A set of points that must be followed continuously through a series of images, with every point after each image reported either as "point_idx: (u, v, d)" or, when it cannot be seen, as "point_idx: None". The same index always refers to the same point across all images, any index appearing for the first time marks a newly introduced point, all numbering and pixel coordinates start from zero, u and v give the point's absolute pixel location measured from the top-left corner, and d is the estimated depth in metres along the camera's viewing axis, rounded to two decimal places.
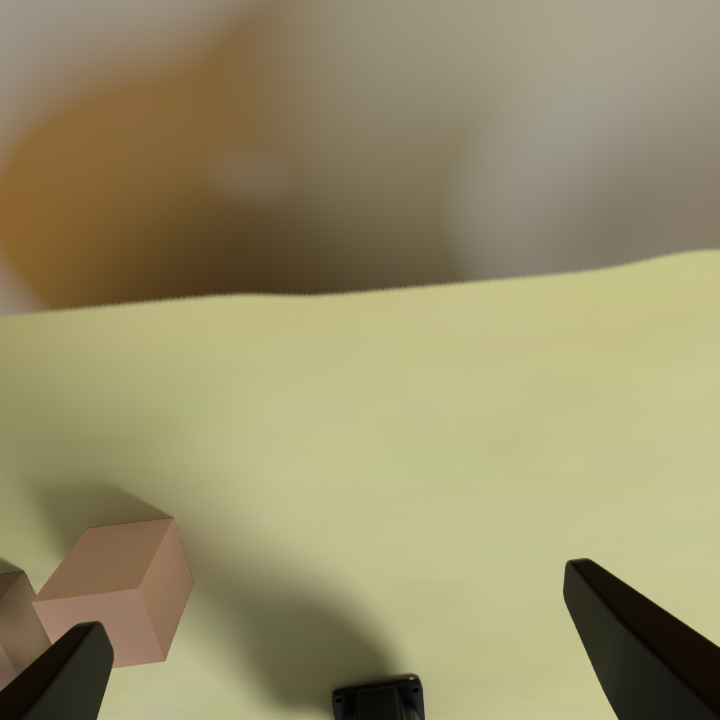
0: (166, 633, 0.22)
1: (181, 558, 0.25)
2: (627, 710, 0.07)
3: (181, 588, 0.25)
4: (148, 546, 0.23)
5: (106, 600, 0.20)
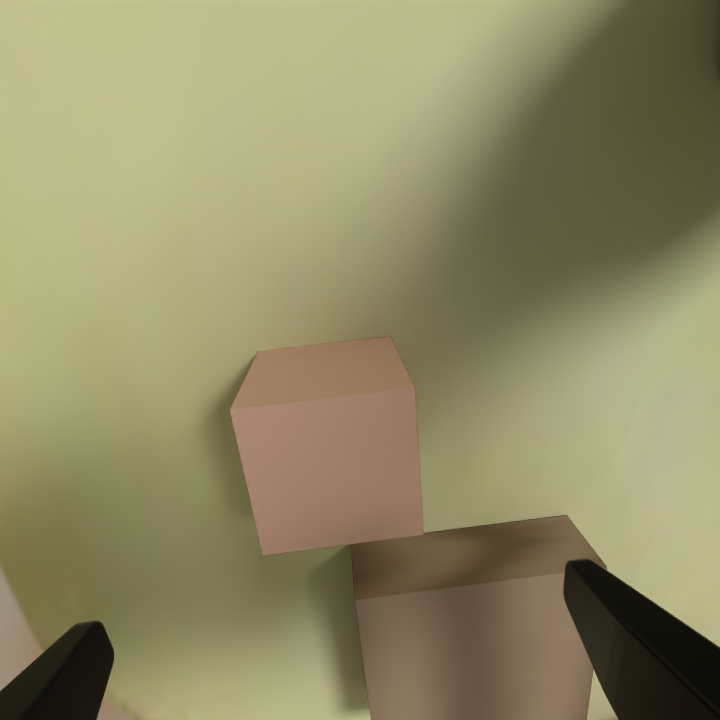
0: (378, 380, 0.12)
1: (325, 347, 0.16)
2: (627, 710, 0.07)
3: (363, 352, 0.15)
4: None
5: (257, 460, 0.12)
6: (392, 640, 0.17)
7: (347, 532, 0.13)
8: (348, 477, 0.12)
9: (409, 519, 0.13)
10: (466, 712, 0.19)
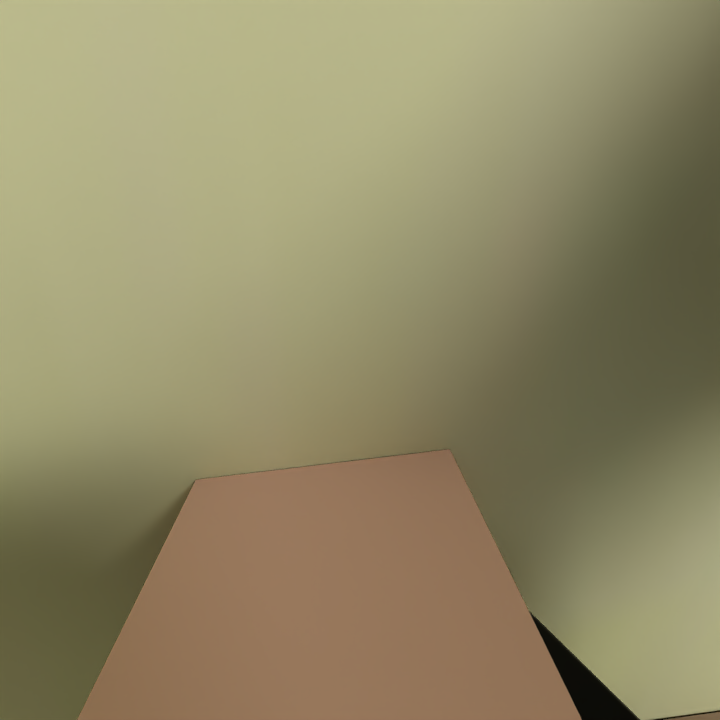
0: (469, 672, 0.04)
1: (326, 483, 0.08)
2: None
3: (405, 509, 0.07)
4: None
5: None
6: None
7: None
8: None
9: None
10: None
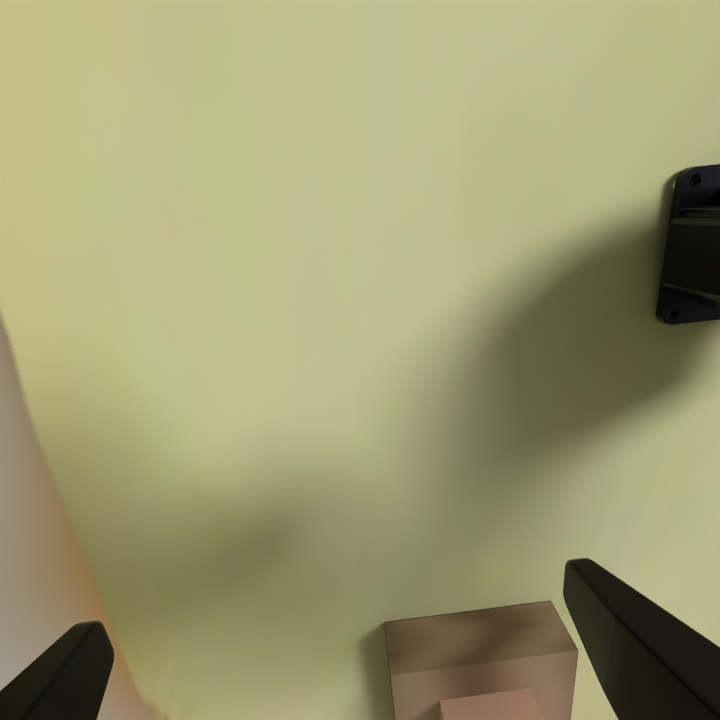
0: None
1: (490, 706, 0.23)
2: (627, 710, 0.07)
3: None
4: None
5: None
6: (418, 703, 0.23)
7: None
8: None
9: None
10: None
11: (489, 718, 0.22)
